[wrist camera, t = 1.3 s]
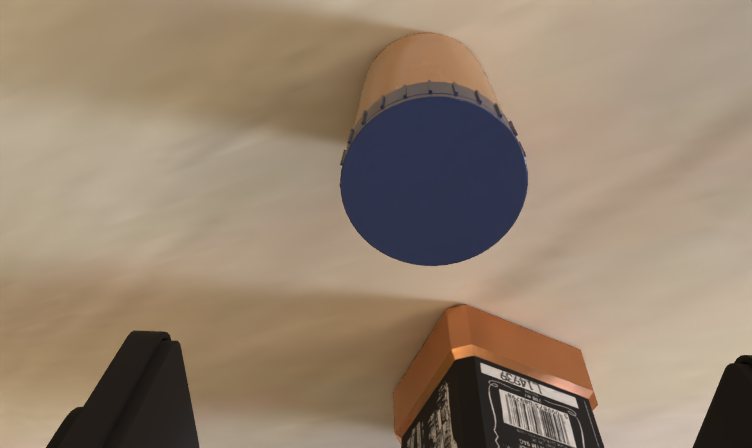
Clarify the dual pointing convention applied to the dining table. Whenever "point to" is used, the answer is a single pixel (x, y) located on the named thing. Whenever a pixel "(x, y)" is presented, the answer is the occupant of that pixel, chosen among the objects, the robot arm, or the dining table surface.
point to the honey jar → (423, 67)
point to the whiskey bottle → (494, 389)
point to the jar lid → (433, 174)
